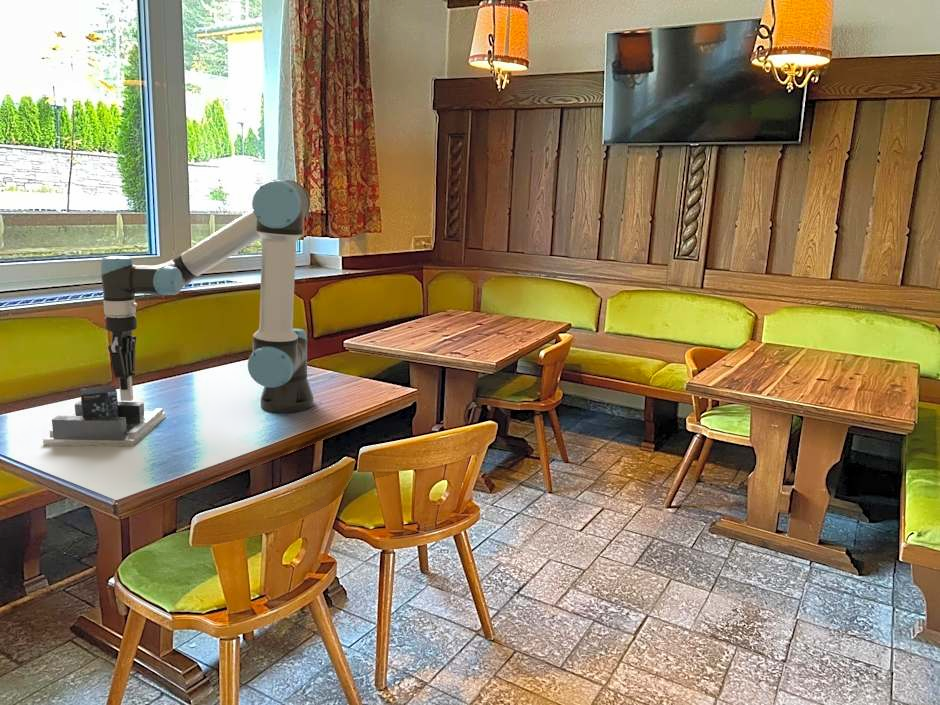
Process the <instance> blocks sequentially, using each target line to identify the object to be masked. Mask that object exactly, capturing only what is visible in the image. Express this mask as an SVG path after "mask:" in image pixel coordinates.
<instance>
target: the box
mask: <svg viewBox="0 0 940 705" xmlns="http://www.w3.org/2000/svg"><path fill="white" fill-rule="evenodd" d="M79 390H80V399H81V400H80V401H81V404H82V416H98V417H119V415H118V402H119V401H118V392H117V389H116V386H115V385H109V386H98V387H89V388H87V387H86V388H80V389H79Z"/></svg>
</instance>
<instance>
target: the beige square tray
mask: <svg viewBox="0 0 940 705" xmlns="http://www.w3.org/2000/svg"><path fill="white" fill-rule="evenodd" d="M144 415H145V419H143V420H142V421H141V422H140V423H139V424H126V417H98V416H76V415H75V414H73V415H57V416H55V417H53V418H52V419H51V423H52V425H51V426H52V427H51V428H52V429H51V430H49V434H48V435H47V436H45V437H44V438H43V439H42V442H43V443H42V444H43V446H71V445H72V447H73V446H78V447H79V445H83V447H84V445H93V446H92V447H134V446H135V445H137V444H138V443H139V442H140V441H141V440H142V439H144V437H146V436H147V434H149V433H150V432H151V431H152V430H153V429H154V428H155V427H157V426H158V425H159V424H160V423H161V422H162V421H163V420H164V419H166V411H164V409H163V408H161V407H160V408H159V407H158V408H157V407H156V408H155V409H154V410H153V411H144Z"/></svg>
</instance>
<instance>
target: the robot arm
mask: <svg viewBox="0 0 940 705" xmlns="http://www.w3.org/2000/svg"><path fill="white" fill-rule="evenodd" d="M251 203H252V204H251V207H252V209H251V210H249V211H248V212H246V213H245V214H243V215H242V216H240V217H238V218H236V219H235V220H233V221H232V222H230V223H229V224H227V225H226V226H223V227H222V228H220V229H219V230H217V231H216V232H214V233H212V234H211V235H210V236H209V235H208V237H206V238H205V239H203V240H201V241H200V242H198V243H197V244H195V245H193V246H191V247H190V248H189V249H186V250H185V251H184V252H181V253H180V254H178V255H176V256H175V257H174V258H172V259H170V260H169V261H165V262H162V263H159V264H156V265H140V264H137V265H136V264H134V261H133V258H132V257H130V256H124V255H111V256H105V257H103V258H102V259H101V261H100V276H101V285H102V293H103V313H104V315H106V316H105V317H104V321H105V322H104V324H105V330H106V331H107V332H111V334H112V336H111V343H112V344H109V345H108V346H107V348H108V352H109V355H110V360H111V363H112V369H113V373H114V378H115V379H119V380H118V382H119V394H120V395H119V396H120V402H133V400H134V392H133V391H134V390H133V378H132V377H133V376H134V377H135V376H136V372H135V371H136V344H137V335H133V332H132V331H135V330H137V329H138V323H137V322H138V320H137V319H138V318H137V316H136V313H137V310H136V309H137V308H136V307H137V306H138V304H137V303H136V294H137V295H159V296H175V295H178V294H179V293H180V291H181V290H182V289H183V287H185V286H187V285H189V284H190V283H191V282H192V281H193V280H194V279H196V278H197V277H199V276H201V275H202V274H204V273H206V272H207V271H209V270H210V269H212V268H214V267H216V266H218V264H221V263H222V262H224V261H225V260H227V259H228V258H230V257H232V256H234V255H235V254H237V253H238V252H240V251H241V250H243V249H244V248H246V247H249V246H250V245H252V244H253V243H255V242H257V241H259V239H261V261H260V262H261V265H260V266H261V267H260V268H261V269H260V270H261V271H260V291H259V292H260V296H259V297H260V298H259V299H260V300H259V325H258V326H259V328H258V329H257V331H255V332H254V333H253V334H252V353H250V355H249V357H248V361H247V370H248V371H247V372H248V374H249V375H250V377H251V378H252V379H253V381H255V382H256V383H257V384H258V385H260V386H262V387H263V391H262V393H261V396H260V407H261V409H263V410H265V411H268V412H271V413H272V412H273V413H280V414H281V413H282V414H283V413H296V412H297V413H298V412H302V411H306V410H308V409H311V408H312V407H313V406H314V394H313V392H312V390H311V386H310V384H309V380H308V336H307V331H306V330H304V329H303V328H293V326H294V324H293V322H294V300H295V280H296V279H295V277H296V255H297V253H296V252H297V251H296V250H297V241H298V240H299V239H301V237H303V234H304V219H305V218H306V217H307V215H308V214H309V212H310V210H311V197H310V195H309V192H308V191H307V189H306V188H305V187H304V186H303V185H302V184H301V183H299V182H297V181H295V180H289V179H284V180H283V179H271V180H268V181H266V182H264V183H263V184H261V185H260V186H259V187H258V188H257V189H256V190H255V192H254V194H253V197H252V202H251Z"/></svg>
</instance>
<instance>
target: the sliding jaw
mask: <svg viewBox="0 0 940 705" xmlns="http://www.w3.org/2000/svg"><path fill="white" fill-rule="evenodd" d="M144 404H145V402H143V401H118V415H119V417H126V424H139V423H140V422H141V421H142V420H143V419H145V415H144V412H145V405H144ZM74 412H75V415H76V416H82V404H81V400H79V401H77V402H76V403H75V404H74Z"/></svg>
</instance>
